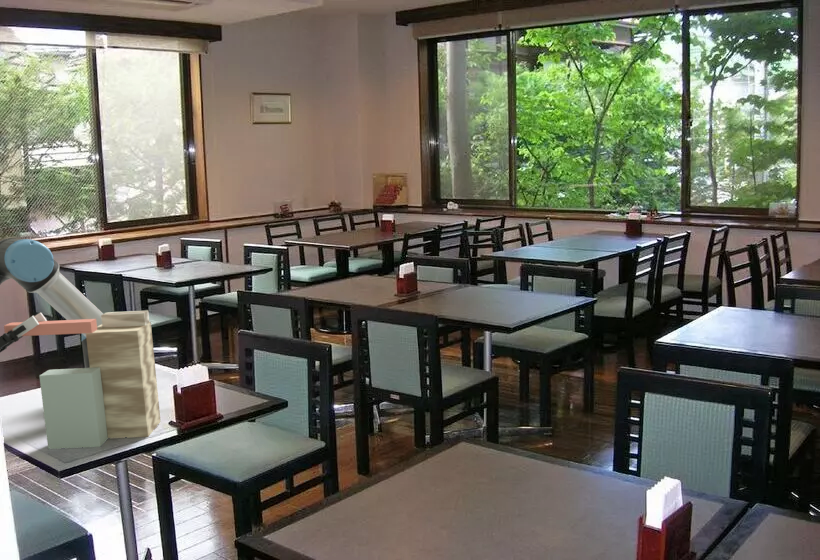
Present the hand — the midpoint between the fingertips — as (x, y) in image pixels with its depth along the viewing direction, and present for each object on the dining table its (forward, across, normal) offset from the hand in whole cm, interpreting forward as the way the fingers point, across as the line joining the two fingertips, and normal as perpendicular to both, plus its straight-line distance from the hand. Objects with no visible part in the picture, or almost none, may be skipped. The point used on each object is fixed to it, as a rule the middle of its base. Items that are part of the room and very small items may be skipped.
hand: (39, 318), depth 225 cm
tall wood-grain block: (-2, -10, -39) cm, 41 cm away
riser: (-12, 0, -34) cm, 36 cm away
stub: (0, 0, -5) cm, 5 cm away
